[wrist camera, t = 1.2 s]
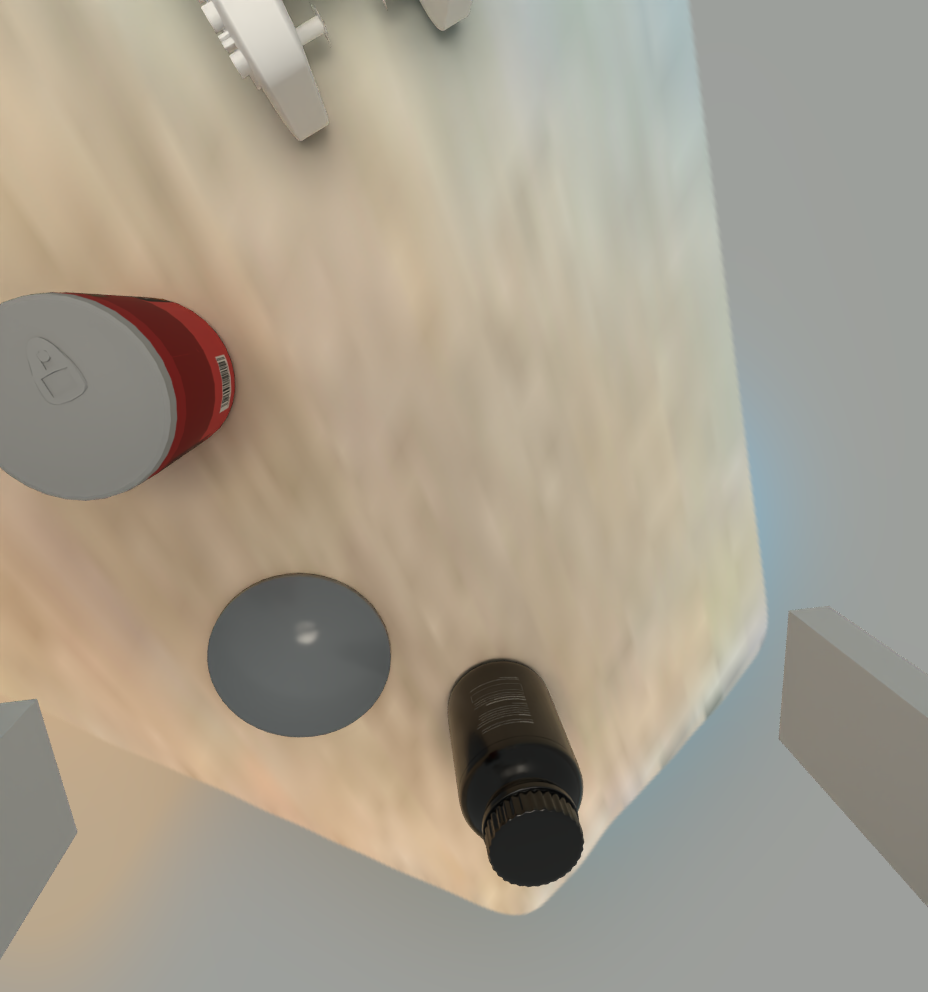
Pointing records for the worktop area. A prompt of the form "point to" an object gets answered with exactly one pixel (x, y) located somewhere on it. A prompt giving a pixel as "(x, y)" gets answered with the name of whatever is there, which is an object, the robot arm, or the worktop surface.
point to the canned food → (105, 390)
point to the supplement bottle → (516, 773)
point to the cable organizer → (291, 52)
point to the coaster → (299, 655)
